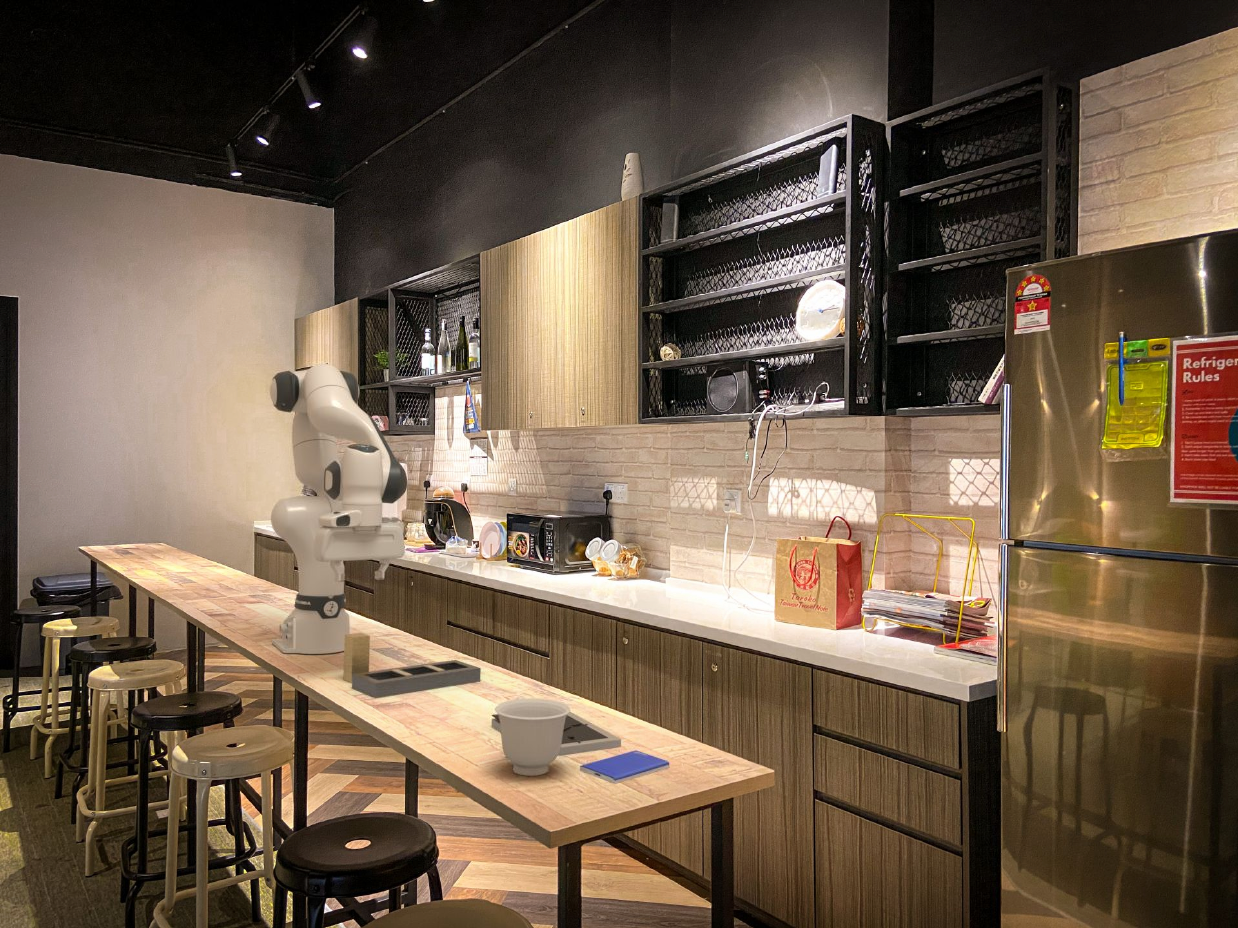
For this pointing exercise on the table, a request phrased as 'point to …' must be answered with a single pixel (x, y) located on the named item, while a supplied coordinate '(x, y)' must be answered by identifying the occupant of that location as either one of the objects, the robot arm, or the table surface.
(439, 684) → the grey compartment tray
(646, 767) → the hard drive
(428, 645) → the table surface
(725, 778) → the table surface
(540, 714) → the teacup
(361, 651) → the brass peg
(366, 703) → the table surface
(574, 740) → the picture frame
